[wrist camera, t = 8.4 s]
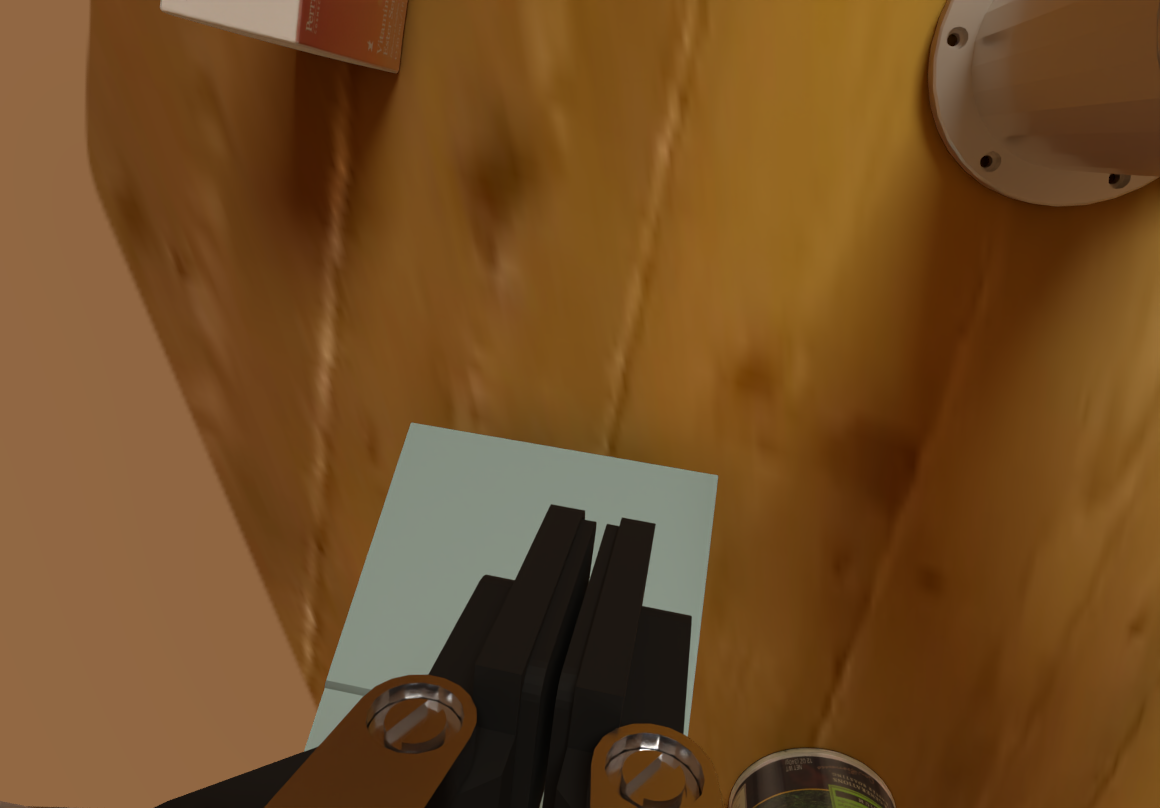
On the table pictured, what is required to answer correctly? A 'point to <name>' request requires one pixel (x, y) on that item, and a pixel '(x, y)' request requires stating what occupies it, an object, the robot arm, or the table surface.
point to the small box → (310, 25)
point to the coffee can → (809, 782)
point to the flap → (500, 546)
